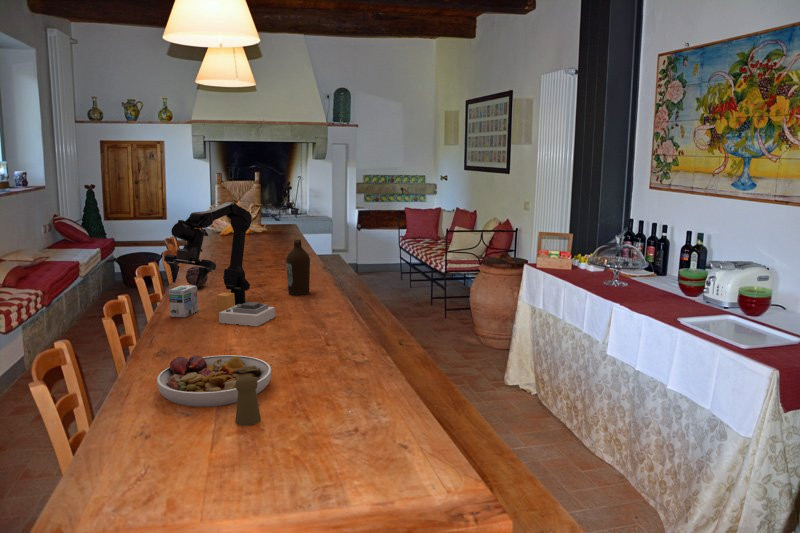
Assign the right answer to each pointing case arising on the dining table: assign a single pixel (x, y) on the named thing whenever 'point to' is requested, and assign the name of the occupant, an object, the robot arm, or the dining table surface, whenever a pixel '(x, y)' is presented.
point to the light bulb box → (183, 301)
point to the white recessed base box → (247, 315)
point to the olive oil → (298, 270)
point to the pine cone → (194, 276)
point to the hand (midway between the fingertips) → (185, 284)
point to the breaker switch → (250, 305)
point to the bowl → (210, 379)
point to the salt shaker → (247, 401)
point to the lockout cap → (225, 301)
